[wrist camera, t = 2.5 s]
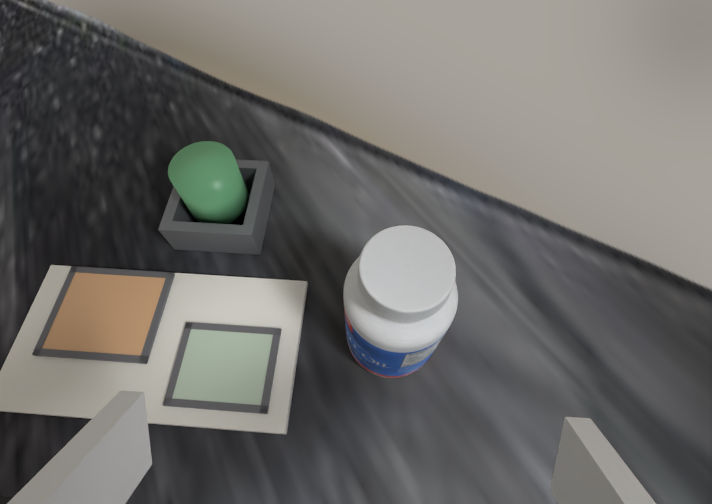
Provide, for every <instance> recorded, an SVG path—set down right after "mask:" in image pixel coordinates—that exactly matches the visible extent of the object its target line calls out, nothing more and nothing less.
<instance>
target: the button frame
mask: <svg viewBox="0 0 712 504" xmlns="http://www.w3.org/2000/svg"><path fill="white" fill-rule="evenodd" d="M235 160H236V159H235ZM236 162H237V165H238V167H239V170H240V172H241V175H242V178H243V180H244V183H245V185H246V188H247V190H248V191H251V194H250V198H249V202H248V207H247V211H246V215H245V219H244V223H243V225H232V224H215V223H198V222H193V221H194V217H193V215H192V214H191V212H190V211H189V209H188V208H187V206H186V204H185V203H184V201H183V200H182V198H181V197H180V195H179V194H178V192H177V190H176V189H175V187H174V186H173V189H172V192H171V195H170V198H169V200H168V203H167V206H166V209H165V212H164V215H163V217H162V220H161V223H160V226H159V229H158V230H159V231H160V233H161V234H162V235H163V236H164V238H165V239H166V240H167V241H168V242H169V244H170V245H171V246H172V247H173V249H174V250H189V251H205V252H222V253H238V254H254V255H261V251H262V246H263V241H264V236H265V232H266V227H267V222H268V217H269V213H270V208H271V203H272V198H273V193H274V189H275V181H274V178H273V175H272V171H271V168H270V164H269V161H256V160H236Z"/></svg>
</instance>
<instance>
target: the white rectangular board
mask: <svg viewBox="0 0 712 504" xmlns="http://www.w3.org/2000/svg"><path fill="white" fill-rule="evenodd" d="M307 288H308V284H307V281H296V280H280V279H264V278H249V277H233V276H217V275H201V274H186V273H172V272H156V271H140V270H124V269H109V268H93V267H77V266H60V265H51V266H50V268H49V270H48V272H47V274H46V277H45V279H44V281H43V283H42V285H41V287H40V289H39V291H38V293H37V295H36V298H35V300H34V302H33V304H32V306H31V308H30V310H29V312H28V314H27V316H26V318H25V321H24V323H23V325H22V327H21V329H20V331H19V333H18V335H17V337H16V339H15V342H14V344H13V346H12V348H11V350H10V352H9V354H8V356H7V358H6V360H5V362H4V365H3V367H2V369H1V371H0V412H13V413H25V414H37V415H50V416H62V417H74V418H87V419H92V418H93V417H94V416H95V415H96V414H97V413H98V412H99V411H100V410H101V409H102V408H103V407H104V406H105V405H106V404H107V403H108V402H109V401H110V400H111V399H112V398H113V397H114V396H115V395H116V394H117V393H118V392H119V391H136V392H144V395H145V404H146V413H147V422H148V423H149V424H161V425H173V426H186V427H198V428H210V429H223V430H235V431H248V432H260V433H272V434H285V435H287V429H288V421H289V414H290V407H291V400H292V393H293V386H294V379H295V372H296V365H297V358H298V351H299V344H300V337H301V330H302V323H303V316H304V309H305V302H306V295H307Z"/></svg>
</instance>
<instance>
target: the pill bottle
mask: <svg viewBox="0 0 712 504" xmlns="http://www.w3.org/2000/svg"><path fill="white" fill-rule="evenodd" d="M455 277H456V266H455V261H454V258H453V255H452V253H451V251H450V250H449V248H448V247H447V245H446V244H445V243H444V242H443V241H442V240H441V239H440V238H439V237H438V236H436V235H435V234H433V233H432V232H430V231H428V230H426V229H423V228H420V227H416V226H409V225H408V226H407V225H400V226H394V227H390V228H387V229H384V230H382V231H380V232H378V233H377V234H376V235H374V236H373V237H372V238H371V239H370V240H369V241H368V242H367V244H366V245H365V246H364V248H363V250H362V252H361V255H360V256H359V257H358V258H357V259H356V260H355V262H354V263H353V264H352V266H351V267H350V269H349V271H348V273H347V276H346V279H345V283H344V290H343V301H344V311H345V324H346V337H347V342H348V345H349V348H350V351H351V353H352V355H353V356H354V358H355V359H356V361H357V362H358V363H359V364H360V365H361V366H362V367H363V368H365V369H366V370H367V371H369V372H371V373H373V374H375V375H378V376H381V377H387V378H397V377H402V376H406V375H409V374H411V373H413V372H415V371H417V370H418V369H419V368H421V367H422V366H423V365H424V364H425V363H426V362H427V361H428V359H429V358H430V357H431V355H432V353H433V352H434V350H435V349H436V347H437V346H438V344H439V342H440V341H441V339H442V338H443V336H444V335H445V333H446V332H447V330H448V328H449V327H450V325H451V323H452V321H453V319H454V317H455V314H456V311H457V305H458V291H457V286H456V282H455Z"/></svg>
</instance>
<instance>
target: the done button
mask: <svg viewBox="0 0 712 504" xmlns="http://www.w3.org/2000/svg"><path fill="white" fill-rule="evenodd" d="M168 176H169V179H170V181H171V183H172V184H173V186H174V187H175V189H176V190H177V192H178V194H179V195H180V197H181V198H182V200H183V201H184V203H185V204H186V206H187V208H188V209H189V211H190V212H191V214H192V215H193V217H194V218H195V219H196V220H197V221H199V222H200V223H215V224H228V223H230V222H232V221H234V220H236V219H237V218H238V217H240V216H241V215H242V214H243V212H244V211H245V210H246V208H247V206H248V202H249V193H248V190H247V188H246V185H245V183H244V180H243V178H242V175H241V172H240V170H239V167H238V165H237V162H236V160H235V157H234V155H233V153H232V151H231V150H230V149H229V148H228V147H227V146H225V145H223V144H221V143H218V142H214V141H201V142H196V143H193V144H190V145H188V146H186V147H184V148H183V149H181V150H180V151H179V152H178V153H177V154H175V156H174V157H173V158H172V160H171V162H170V164H169V167H168Z"/></svg>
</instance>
